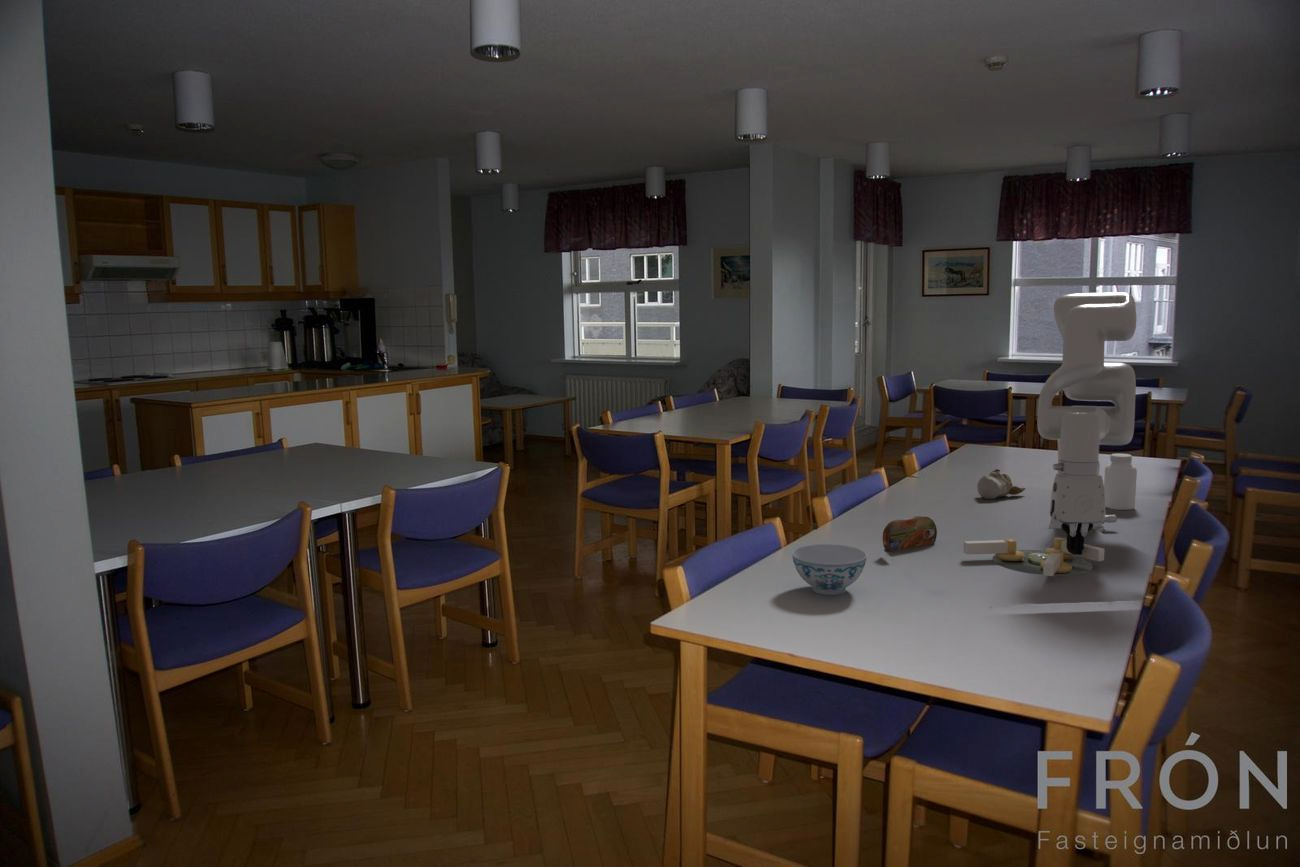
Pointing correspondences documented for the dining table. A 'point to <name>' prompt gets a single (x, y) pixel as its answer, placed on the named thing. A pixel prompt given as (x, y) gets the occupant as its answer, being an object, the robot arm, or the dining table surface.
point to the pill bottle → (1120, 482)
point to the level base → (1034, 563)
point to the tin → (909, 533)
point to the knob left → (995, 549)
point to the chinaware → (829, 566)
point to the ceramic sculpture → (997, 485)
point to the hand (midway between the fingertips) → (1074, 553)
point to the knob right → (1087, 552)
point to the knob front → (1055, 564)
